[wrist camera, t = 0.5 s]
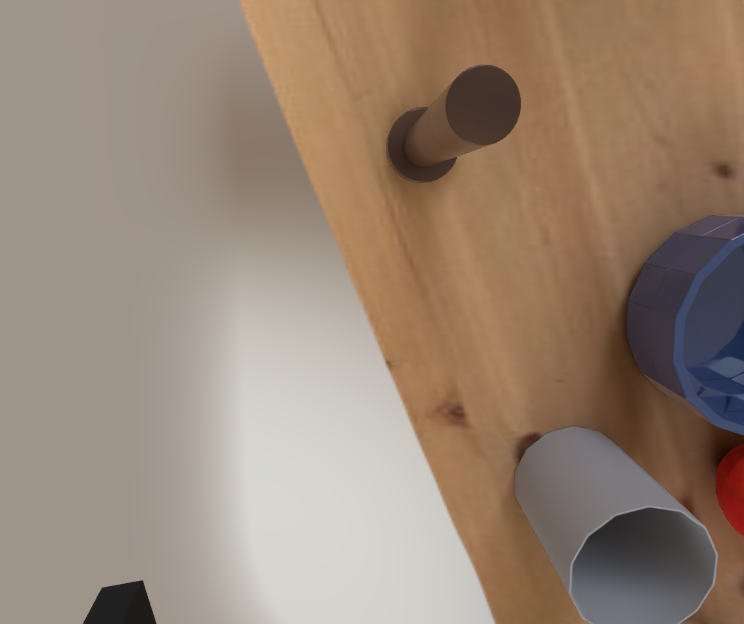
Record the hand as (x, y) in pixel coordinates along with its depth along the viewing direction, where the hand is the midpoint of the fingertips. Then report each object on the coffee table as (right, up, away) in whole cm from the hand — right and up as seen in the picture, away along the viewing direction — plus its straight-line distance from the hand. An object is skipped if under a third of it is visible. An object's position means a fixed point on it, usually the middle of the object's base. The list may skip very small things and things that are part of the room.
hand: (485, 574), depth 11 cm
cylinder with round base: (+1, +16, +23) cm, 28 cm away
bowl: (+21, +5, +26) cm, 34 cm away
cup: (+12, -7, +29) cm, 32 cm away
